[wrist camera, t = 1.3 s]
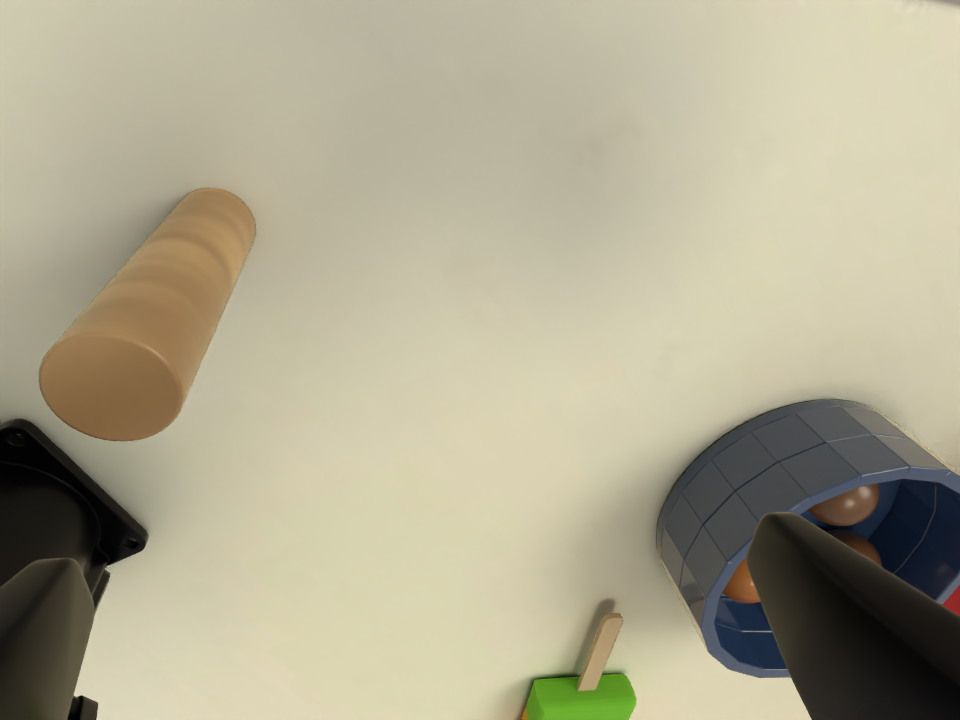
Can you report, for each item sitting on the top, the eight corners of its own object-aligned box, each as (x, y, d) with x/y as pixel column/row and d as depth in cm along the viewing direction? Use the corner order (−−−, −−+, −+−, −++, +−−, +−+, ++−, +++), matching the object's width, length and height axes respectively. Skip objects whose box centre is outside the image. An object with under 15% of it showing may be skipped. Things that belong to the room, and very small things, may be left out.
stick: (159, 206, 17) (3, 367, 10) (228, 174, 17) (125, 311, 10) (205, 271, 19) (99, 461, 11) (271, 242, 18) (209, 412, 11)
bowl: (627, 470, 26) (675, 552, 22) (902, 354, 25) (1000, 417, 21) (683, 626, 32) (727, 710, 28) (904, 537, 32) (978, 610, 28)
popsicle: (500, 771, 37) (506, 806, 35) (555, 602, 29) (567, 636, 28) (586, 763, 38) (596, 796, 36) (659, 598, 31) (676, 630, 29)
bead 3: (789, 531, 29) (831, 582, 26) (850, 506, 29) (898, 555, 26) (796, 568, 30) (836, 620, 28) (853, 545, 30) (898, 595, 28)
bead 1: (690, 534, 28) (723, 588, 25) (752, 508, 27) (792, 560, 25) (702, 572, 29) (734, 627, 27) (761, 548, 29) (799, 601, 26)
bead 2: (777, 455, 26) (823, 504, 23) (844, 427, 26) (897, 474, 23) (784, 501, 28) (828, 551, 25) (847, 474, 27) (897, 523, 25)
